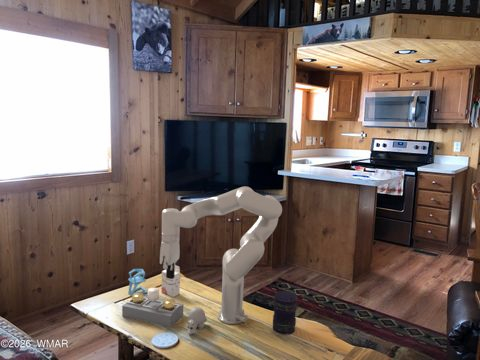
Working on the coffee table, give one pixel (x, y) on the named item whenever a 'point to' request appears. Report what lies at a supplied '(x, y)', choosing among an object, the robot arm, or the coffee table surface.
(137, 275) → the chair
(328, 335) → the coffee table surface
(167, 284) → the ink cartridge box
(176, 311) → the grey compartment tray
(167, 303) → the brass knob near
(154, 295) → the white knob middle
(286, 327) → the storage jar
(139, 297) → the brass knob far
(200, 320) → the round bodied animal figurine
